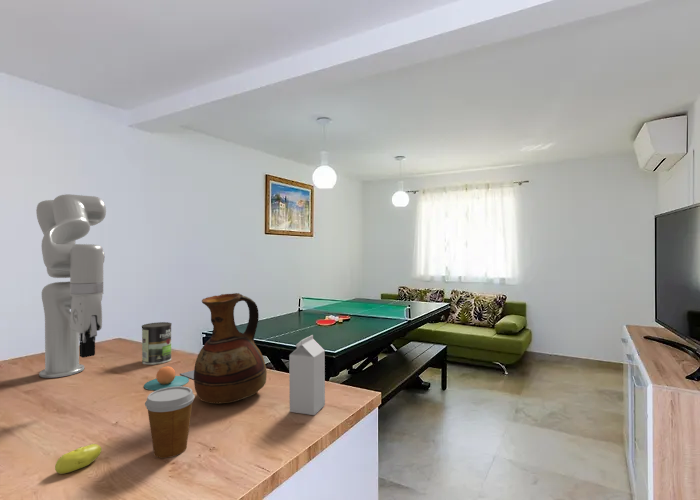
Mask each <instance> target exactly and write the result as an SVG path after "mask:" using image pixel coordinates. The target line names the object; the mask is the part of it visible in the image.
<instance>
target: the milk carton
mask: <svg viewBox="0 0 700 500" xmlns="http://www.w3.org/2000/svg"><path fill="white" fill-rule="evenodd" d="M295 347H296V348H295V349H294V350H293V351H292V352H291V353H290V354H289V355H288V357H289V360H288V361H289V365H288V367H289V370H288V371H289V379H288V381H289V412H290V413H295V414H296V413H297V414H304V415H309V416H316V415H317V413H318V412H319V411H321V409H323V408H324V406H326V385H325V384H326V382H325V381H326V380H325V378H326V376H325V375H326V372H325V371H326V370H325V368H326V367H325V366H326V364H325V363H326V361H325V360H326V359H325V353H326V352H325V348H323V347H322V345H320V344H319V343H318V342H317V341H316V340H315V339H314V334H311V335H310V336H309V335H308V336H307V337H305V338H303V339H301V340H300V341H299V342H298V343H296V344H295Z"/></svg>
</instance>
